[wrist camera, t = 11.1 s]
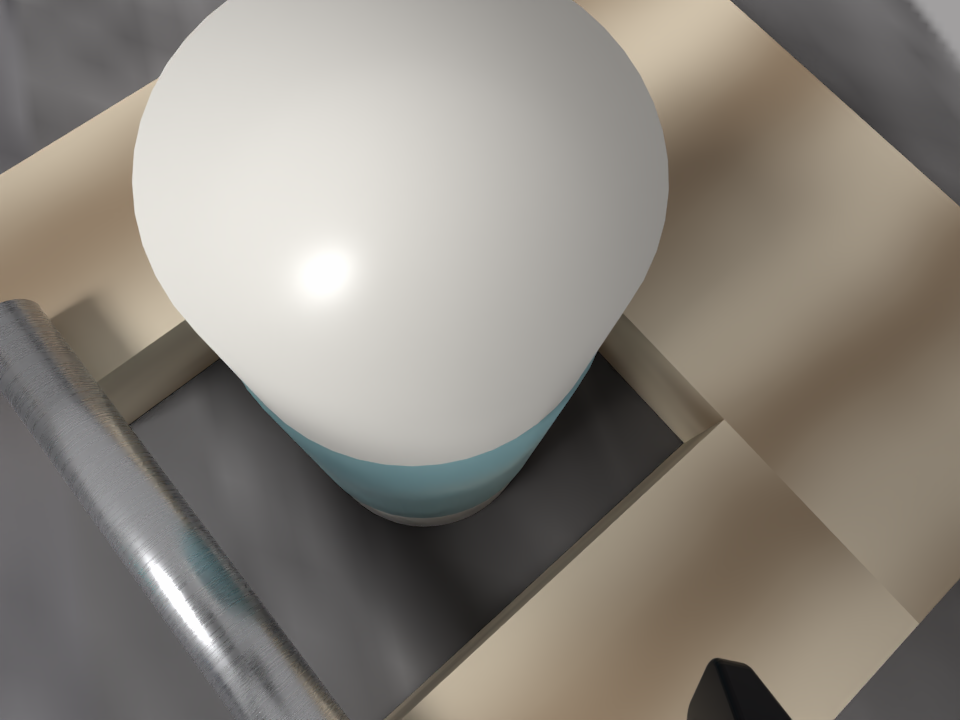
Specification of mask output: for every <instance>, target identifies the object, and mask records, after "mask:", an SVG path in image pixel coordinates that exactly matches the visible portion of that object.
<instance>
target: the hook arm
mask: <svg viewBox="0 0 960 720" xmlns="http://www.w3.org/2000/svg"><path fill="white" fill-rule="evenodd" d="M0 391H1V392H2V394H3V395H4V396H5V398H6V399H7V401H8V402H9V403H10V405H11V406H12V408H13V409H14V410H15V412H16V413H17V415H18V416H19V417H20V419H21V420H22V422H23V423H24V424H25V426H26V427H27V429H28V430H29V431H30V433H31V434H32V436H33V437H34V438H35V440H36V441H37V443H38V444H39V445H40V447H41V448H42V450H43V451H44V452H45V454H46V455H47V457H48V458H49V459H50V461H51V462H52V464H53V465H54V466H55V468H56V469H57V471H58V472H59V473H60V475H61V476H62V478H63V479H64V480H65V482H66V483H67V485H68V486H69V487H70V489H71V490H72V492H73V493H74V494H75V496H76V497H77V499H78V500H79V501H80V503H81V504H82V506H83V507H84V508H85V510H86V511H87V513H88V514H89V515H90V517H91V518H92V520H93V521H94V522H95V524H96V525H97V527H98V528H99V529H100V531H101V532H102V534H103V535H104V536H105V538H106V539H107V541H108V542H109V543H110V545H111V546H112V548H113V549H114V550H115V552H116V553H117V555H118V556H119V557H120V559H121V560H122V562H123V563H124V564H125V566H126V567H127V569H128V570H129V571H130V573H131V574H132V576H133V577H134V578H135V580H136V581H137V583H138V584H139V585H140V587H141V588H142V590H143V591H144V592H145V594H146V595H147V597H148V598H149V599H150V601H151V602H152V604H153V605H154V606H155V608H156V609H157V611H158V612H159V613H160V615H161V616H162V618H163V619H164V620H165V622H166V623H167V625H168V626H169V627H170V629H171V630H172V632H173V633H174V634H175V636H176V637H177V639H178V640H179V641H180V643H181V644H182V646H183V647H184V648H185V650H186V651H187V653H188V654H189V655H190V657H191V658H192V660H193V661H194V662H195V664H196V665H197V667H198V668H199V669H200V671H201V672H202V674H203V675H204V676H205V678H206V679H207V681H208V682H209V683H210V685H211V686H212V688H213V689H214V690H215V692H216V693H217V695H218V696H219V697H220V699H221V700H222V702H223V703H224V704H225V706H226V707H227V709H228V710H229V711H230V713H231V714H232V716H233V717H234V718H235V720H350V719H349V718H348V717H347V715H346V714H345V713H344V711H343V710H342V709H341V707H340V706H339V705H338V703H337V702H336V701H335V699H334V698H333V697H332V695H331V694H330V693H329V691H328V690H327V689H326V687H325V686H324V685H323V683H322V682H321V681H320V679H319V678H318V677H317V675H316V674H315V673H314V671H313V670H312V669H311V667H310V666H309V665H308V663H307V662H306V661H305V659H304V658H303V657H302V655H301V654H300V653H299V651H298V650H297V649H296V647H295V646H294V645H293V643H292V642H291V641H290V639H289V638H288V637H287V635H286V634H285V633H284V631H283V630H282V629H281V627H280V626H279V625H278V623H277V622H276V621H275V619H274V618H273V617H272V615H271V614H270V613H269V611H268V610H267V609H266V607H265V606H264V605H263V603H262V602H261V601H260V599H259V598H258V597H257V595H256V594H255V593H254V591H253V590H252V589H251V587H250V586H249V585H248V583H247V582H246V581H245V579H244V578H243V577H242V575H241V574H240V573H239V571H238V570H237V569H236V567H235V566H234V565H233V563H232V562H231V561H230V559H229V558H228V557H227V555H226V554H225V553H224V551H223V550H222V549H221V547H220V546H219V545H218V543H217V542H216V541H215V539H214V538H213V537H212V535H211V534H210V533H209V531H208V530H207V529H206V527H205V526H204V525H203V523H202V522H201V521H200V519H199V518H198V517H197V515H196V514H195V513H194V511H193V510H192V509H191V507H190V506H189V505H188V503H187V502H186V501H185V499H184V498H183V497H182V495H181V494H180V493H179V491H178V490H177V489H176V487H175V486H174V485H173V483H172V482H171V481H170V479H169V478H168V477H167V475H166V474H165V473H164V471H163V470H162V469H161V467H160V466H159V465H158V463H157V462H156V461H155V459H154V458H153V457H152V455H151V454H150V453H149V451H148V450H147V449H146V447H145V446H144V445H143V443H142V442H141V441H140V439H139V438H138V437H137V435H136V434H135V433H134V431H133V430H132V429H131V427H130V426H129V425H128V423H127V422H126V421H125V419H124V418H123V417H122V415H121V414H120V413H119V411H118V410H117V409H116V407H115V406H114V405H113V403H112V402H111V401H110V399H109V398H108V397H107V395H106V394H105V393H104V391H103V390H102V389H101V387H100V386H99V385H98V383H97V382H96V381H95V379H94V378H93V377H92V375H91V374H90V373H89V371H88V370H87V369H86V367H85V366H84V365H83V363H82V362H81V361H80V359H79V358H78V357H77V355H76V354H75V353H74V351H73V350H72V349H71V347H70V346H69V345H68V343H67V342H66V341H65V339H64V338H63V337H62V335H61V334H60V333H59V331H58V330H57V329H56V327H55V326H54V325H53V323H52V322H51V321H50V319H49V318H48V317H47V315H46V314H45V313H44V311H43V310H42V309H41V307H40V306H39V305H38V304H37V303H36V302H34V301H32V300H28V299H13V300H8V301H4V302H1V303H0Z"/></svg>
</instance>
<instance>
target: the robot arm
mask: <svg viewBox="0 0 960 720" xmlns="http://www.w3.org/2000/svg"><path fill="white" fill-rule="evenodd" d="M687 720H792V719H791V717H790V716H789V715H788V714H787V712H786V711H785V710H784V708H783V707H782V706H781V705H780V703H779V702H778V701H777V700H776V698H775V697H774V696H773V694H772V693H771V692H770V691H769V689H768V688H767V687H766V686H765V684H764V683H763V682H762V680H761V679H760V678H759V677H758V675H757V674H756V673H755V672H754V670H753V669H752V668H751V667H749V666H748V665H747V664H745V663H741V662H736V661H732V660H727V659H722V658H713V659H712V660H711V661H709V663H708V664H707V666H706V668H705V670H704V673H703V675H702V677H701V679H700V681H699V684H698V686H697V688H696V690H695V692H694V694H693V697H692V699H691V701H690V704H689V707H688V712H687Z"/></svg>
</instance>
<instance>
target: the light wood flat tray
mask: <svg viewBox="0 0 960 720" xmlns="http://www.w3.org/2000/svg"><path fill="white" fill-rule="evenodd" d="M572 1H574V2H575V3H577V4H578V5H579V6H581V7H582V8H583V9H584V10H586V11H587V12H588V13H589V14H590V15H591V16H592V17H593V18H594V19H595V20H596V21H598V22H599V23H600V24H601V25H602V26H603V27H604V28H605V29H606V30H607V31H608V32H609V34H610V35H611V36H612V37H613V38H614V39H615V41H616V42H617V43H618V44H619V45H620V46H621V48H622V49H623V50H624V51H625V53H626V54H627V56H628V57H629V59H630V60H631V62H632V63H633V65H634V66H635V68H636V69H637V71H638V72H639V74H640V75H641V77H642V79H643V81H644V84H645V86H646V88H647V90H648V92H649V94H650V96H651V98H652V100H653V102H654V105H655V108H656V111H657V114H658V117H659V120H660V124H661V127H662V130H663V135H664V140H665V146H666V152H667V158H668V181H669V193H668V201H667V209H666V217H665V223H664V226H663V230H662V234H661V237H660V241H659V245H658V248H657V252H656V254H655V256H654V258H653V261H652V263H651V265H650V267H649V270H648V272H647V274H646V276H645V279H644V281H643V282H642V284H641V285H640V287H639V289H638V290H637V292H636V293H635V295H634V296H633V298H632V300H631V301H630V303H629V304H628V306H627V308H626V309H625V311H624V312H623V314H622V315H621V317H620V318H619V320H618V321H617V322H616V324H615V325H614V327H613V328H612V330H611V331H610V333H609V334H608V336H607V337H606V339H605V340H604V342H603V343H602V345H601V346H600V348H599V349H598V351H599V353H600V354H601V355H602V356H603V357H604V358H605V359H606V360H607V361H608V362H609V363H610V364H611V365H612V366H613V368H614V369H615V370H616V371H617V372H618V373H619V374H620V375H621V376H622V377H623V378H624V379H625V380H626V381H627V383H628V384H629V385H630V386H631V387H632V388H633V389H634V390H635V391H636V392H637V393H638V394H639V395H640V397H641V398H642V399H643V400H644V401H645V402H646V403H647V404H648V405H649V406H650V407H651V408H652V409H653V410H654V412H655V413H656V414H657V415H658V416H659V417H660V418H661V419H662V420H663V421H664V422H665V423H666V424H667V425H668V427H669V428H670V429H671V430H672V431H673V432H674V433H675V434H676V435H677V436H678V437H679V438H680V439H681V440H682V442H683V444H682V445H681V446H680V447H679V448H678V449H677V450H676V451H675V452H674V453H673V454H671V455H670V456H669V457H668V458H667V459H666V460H665V461H664V462H663V463H662V464H661V465H660V466H658V467H657V468H656V469H655V470H654V471H653V472H652V473H651V474H650V475H649V476H648V477H647V478H645V479H644V480H643V481H642V482H641V483H640V484H639V485H638V486H637V487H636V488H635V489H634V490H632V491H631V492H630V493H629V494H628V495H627V496H626V497H625V498H624V499H623V500H622V501H621V502H619V503H618V504H617V505H616V506H615V507H614V508H613V509H612V510H611V511H610V512H609V513H607V514H606V515H605V516H604V517H603V518H602V519H601V520H600V521H599V522H598V523H597V524H596V525H594V526H593V527H592V528H591V529H590V530H589V531H588V532H587V533H586V534H585V535H584V536H583V537H581V538H580V539H579V540H578V541H577V542H576V543H575V544H574V545H573V546H572V547H571V548H570V549H568V550H567V551H566V552H565V553H564V554H563V555H562V556H561V557H560V558H559V559H558V560H557V561H555V562H554V563H553V564H552V565H551V566H550V567H549V568H548V569H547V570H546V571H545V572H544V573H542V574H541V575H540V576H539V577H538V578H537V579H536V580H535V581H534V582H533V583H532V584H531V585H529V586H528V587H527V588H526V589H525V590H524V591H523V592H522V593H521V594H520V595H519V596H517V597H516V598H515V599H514V600H513V601H512V602H511V603H510V604H509V605H508V606H507V607H506V608H504V609H503V610H502V611H501V612H500V613H499V614H498V615H497V616H496V617H495V618H494V619H493V620H491V621H490V622H489V623H488V624H487V625H486V626H485V627H484V628H483V629H482V630H481V631H480V632H478V633H477V634H476V635H475V636H474V637H473V638H472V639H471V640H470V641H469V642H468V643H467V644H465V645H464V646H463V647H462V648H461V649H460V650H459V651H458V652H457V653H456V654H455V655H454V656H452V657H451V658H450V659H449V660H448V661H447V662H446V663H445V664H444V665H443V666H442V667H440V668H439V669H438V670H437V671H436V672H435V673H434V674H433V675H432V676H431V677H430V678H429V679H427V680H426V681H425V682H424V683H423V684H422V685H421V686H420V687H419V688H418V689H417V690H416V691H414V692H413V693H412V694H411V695H410V696H409V697H408V698H407V699H406V700H405V701H404V702H403V703H401V704H400V705H399V706H398V707H397V708H396V709H395V710H394V711H393V712H392V713H391V714H390V715H388V716H387V717H386V718H385V719H384V720H687V712H688V707H689V704H690V701H691V699H692V697H693V694H694V692H695V690H696V688H697V686H698V684H699V681H700V679H701V677H702V675H703V673H704V670H705V668H706V666H707V664H708V663H709V661H711V660H712V659H713V658H722V659H727V660H732V661H736V662H741V663H745V664H747V665H748V666H749V667H751V668H752V669H753V670H754V672H755V673H756V674H757V675H758V677H759V678H760V679H761V680H762V682H763V683H764V684H765V686H766V687H767V688H768V689H769V691H770V692H771V693H772V694H773V696H774V697H775V698H776V700H777V701H778V702H779V703H780V705H781V706H782V707H783V708H784V710H785V711H786V712H787V714H788V715H789V716H790V717H791V719H792V720H834V719H835V718H836V717H837V715H838V714H839V713H840V712H841V711H842V710H843V709H844V708H845V706H846V705H847V704H848V703H849V702H850V701H851V700H852V699H853V697H854V696H855V695H856V694H857V693H858V692H859V691H860V690H861V689H862V687H863V686H864V685H865V684H866V683H867V682H868V681H869V680H870V678H871V677H872V676H873V675H874V674H875V673H876V672H877V671H878V669H879V668H880V667H881V666H882V665H883V664H884V663H885V662H886V660H887V659H888V658H889V657H890V656H891V655H892V654H893V653H894V651H895V650H896V649H897V648H898V647H899V646H900V645H901V644H902V642H903V641H904V640H905V639H906V638H907V637H908V636H909V635H910V633H911V632H912V631H913V630H914V629H915V628H916V627H917V626H918V625H919V623H920V622H921V621H922V620H923V619H924V618H925V617H926V616H927V614H928V613H929V612H930V611H931V610H932V609H933V608H934V607H935V605H936V604H937V603H938V602H939V601H940V600H941V599H942V598H943V596H944V595H945V594H946V593H947V592H948V591H949V590H950V589H951V587H952V586H953V585H954V584H955V583H956V582H957V581H958V580H959V578H960V206H959V205H957V204H956V203H955V202H954V201H953V200H952V199H951V198H950V197H948V196H947V195H946V194H945V193H944V192H943V191H942V190H941V189H940V188H938V187H937V186H936V185H935V184H934V183H933V182H932V181H931V180H930V179H928V178H927V177H926V176H925V175H924V174H923V173H922V172H921V171H920V170H918V169H917V168H916V167H915V166H914V165H913V164H912V163H911V162H910V161H908V160H907V159H906V158H905V157H904V156H903V155H902V154H901V153H899V152H898V151H897V150H896V149H895V148H894V147H893V146H892V145H891V144H889V143H888V142H887V141H886V140H885V139H884V138H883V137H882V136H881V135H879V134H878V133H877V132H876V131H875V130H874V129H873V128H872V127H871V126H869V125H868V124H867V123H866V122H865V121H864V120H863V119H862V118H860V117H859V116H858V115H857V114H856V113H855V112H854V111H853V110H852V109H850V108H849V107H848V106H847V105H846V104H845V103H844V102H843V101H842V100H840V99H839V98H838V97H837V96H836V95H835V94H834V93H833V92H832V91H830V90H829V89H828V88H827V87H826V86H825V85H824V84H823V83H822V82H820V81H819V80H818V79H817V78H816V77H815V76H814V75H813V74H811V73H810V72H809V71H808V70H807V69H806V68H805V67H804V66H803V65H801V64H800V63H799V62H798V61H797V60H796V59H795V58H794V57H793V56H791V55H790V54H789V53H788V52H787V51H786V50H785V49H784V48H783V47H781V46H780V45H779V44H778V43H777V42H776V41H775V40H774V39H772V38H771V37H770V36H769V35H768V34H767V33H766V32H765V31H764V30H762V29H761V28H760V27H759V26H758V25H757V24H756V23H755V22H754V21H752V20H751V19H750V18H749V17H748V16H747V15H746V14H745V13H744V12H742V11H741V10H740V9H739V8H738V7H737V6H736V5H735V4H734V3H732V2H731V1H730V0H572ZM158 79H159V78H158ZM158 79H156V80H154V81H153V82H151V83H149V84H148V85H146V86H144V87H143V88H141V89H140V90H138V91H136V92H135V93H133V94H131V95H130V96H128V97H127V98H125V99H123V100H122V101H120V102H118V103H117V104H115V105H113V106H112V107H110V108H109V109H107V110H105V111H104V112H102V113H100V114H99V115H97V116H95V117H94V118H92V119H91V120H89V121H87V122H86V123H84V124H82V125H81V126H79V127H78V128H76V129H74V130H73V131H71V132H69V133H68V134H66V135H64V136H63V137H61V138H60V139H58V140H56V141H55V142H53V143H51V144H50V145H48V146H46V147H45V148H43V149H42V150H40V151H38V152H37V153H35V154H33V155H32V156H30V157H29V158H27V159H25V160H24V161H22V162H20V163H19V164H17V165H15V166H14V167H12V168H11V169H9V170H7V171H6V172H4V173H2V174H1V175H0V303H1V302H4V301H8V300H13V299H28V300H32V301H34V302H36V303H37V304H38V305H39V306H40V307H41V309H42V310H43V311H44V313H45V314H46V315H47V317H48V318H49V319H50V321H51V322H52V323H53V325H54V326H55V327H56V329H57V330H58V331H59V333H60V334H61V335H62V337H63V338H64V339H65V341H66V342H67V343H68V345H69V346H70V347H71V349H72V350H73V351H74V353H75V354H76V355H77V357H78V358H79V359H80V361H81V362H82V363H83V365H84V366H85V367H86V369H87V370H88V371H89V373H90V374H91V375H92V377H93V378H94V379H95V381H96V382H97V383H98V385H99V386H100V387H101V389H102V390H103V391H104V393H105V394H106V395H107V397H108V398H109V399H110V401H111V402H112V403H113V405H114V406H115V407H116V409H117V410H118V411H119V413H120V414H121V415H122V417H123V418H124V419H125V421H126V422H127V423H128V425H129V424H130V423H132V422H133V421H135V420H136V419H137V418H139V417H140V416H141V415H143V414H144V413H145V412H147V411H148V410H150V409H151V408H152V407H154V406H155V405H156V404H158V403H159V402H161V401H162V400H163V399H165V398H166V397H167V396H169V395H170V394H171V393H173V392H174V391H176V390H177V389H178V388H180V387H181V386H182V385H184V384H185V383H187V382H188V381H189V380H191V379H192V378H193V377H195V376H196V375H197V374H199V373H200V372H202V371H203V370H204V369H206V368H207V367H208V366H210V365H211V364H213V363H214V362H215V361H217V360H218V359H219V358H220V357H219V356H218V355H217V354H216V353H215V352H214V351H213V350H212V349H211V347H210V346H209V345H208V344H207V343H206V342H205V341H204V340H203V339H202V338H201V337H200V336H199V335H198V334H197V333H196V332H195V330H194V329H193V328H192V327H191V326H190V324H189V323H188V322H187V321H186V320H185V318H184V317H183V316H182V315H181V314H180V313H179V311H178V310H177V309H176V308H175V307H174V305H173V304H172V302H171V301H170V299H169V297H168V296H167V294H166V292H165V291H164V289H163V287H162V286H161V284H160V283H159V281H158V279H157V278H156V276H155V274H154V271H153V269H152V267H151V264H150V262H149V259H148V257H147V255H146V252H145V250H144V247H143V245H142V241H141V237H140V233H139V229H138V225H137V221H136V217H135V211H134V199H133V188H132V173H133V158H134V148H135V144H136V139H137V135H138V130H139V126H140V121H141V118H142V115H143V113H144V110H145V107H146V105H147V102H148V100H149V97H150V94H151V92H152V90H153V88H154V86H155V84H156V82H157V81H158Z"/></svg>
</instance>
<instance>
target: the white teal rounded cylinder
mask: <svg viewBox="0 0 960 720" xmlns="http://www.w3.org/2000/svg"><path fill="white" fill-rule="evenodd" d="M132 188H133V199H134V211H135V217H136V221H137V225H138V229H139V233H140V237H141V241H142V245H143V247H144V250H145V252H146V255H147V257H148V259H149V262H150V264H151V267H152V269H153V271H154V274H155V276H156V278H157V279H158V281H159V283H160V284H161V286H162V287H163V289H164V291H165V292H166V294H167V296H168V297H169V299H170V301H171V302H172V304H173V305H174V307H175V308H176V309H177V310H178V311H179V313H180V314H181V315H182V316H183V317H184V318H185V320H186V321H187V322H188V323H189V324H190V326H191V327H192V328H193V329H194V330H195V332H196V333H197V334H198V335H199V336H200V337H201V338H202V339H203V340H204V341H205V342H206V343H207V344H208V345H209V346H210V347H211V349H212V350H213V351H214V352H215V353H216V354H217V355H218V356H219V357H220V358H221V359H222V360H223V361H224V362H225V363H226V364H227V365H228V366H229V368H230V369H231V370H232V371H233V372H234V373H235V374H236V375H237V376H238V377H239V378H240V379H241V380H242V382H243V384H244V385H245V387H246V389H247V390H248V391H249V392H250V393H251V395H252V396H253V397H254V398H255V399H256V401H257V402H258V403H259V404H260V405H261V407H262V408H263V409H264V410H265V411H266V412H267V413H268V414H269V415H270V416H271V417H272V418H273V419H274V420H275V421H276V422H277V423H278V424H279V425H280V426H281V427H282V428H283V429H284V430H285V431H286V432H287V434H288V435H289V436H290V437H291V438H292V439H293V440H294V441H295V442H296V443H297V444H298V445H299V446H300V447H301V448H302V449H303V450H304V451H305V452H306V453H307V454H308V455H309V456H310V457H311V458H312V459H313V460H314V461H315V462H316V463H317V464H318V465H319V466H320V467H321V468H322V469H323V470H324V471H325V472H326V473H327V474H328V475H329V476H330V477H331V478H332V479H333V481H334V482H336V483H337V484H338V485H339V486H340V487H341V488H342V489H343V490H344V491H346V492H347V493H348V494H350V495H351V496H352V497H353V498H354V499H355V500H356V501H358V502H359V503H360V504H361V505H362V506H364V507H365V508H367V509H368V510H369V511H371V512H372V513H374V514H376V515H378V516H380V517H382V518H384V519H387V520H390V521H393V522H396V523H399V524H404V525H410V526H422V527H428V526H440V525H445V524H450V523H454V522H457V521H459V520H462V519H465V518H467V517H469V516H471V515H473V514H475V513H477V512H479V511H480V510H482V509H483V508H484V507H486V506H487V505H489V504H490V503H491V502H492V501H493V500H494V499H495V498H497V497H498V496H499V495H500V494H501V492H502V491H503V490H504V489H505V488H506V486H507V485H508V484H509V482H510V481H511V480H512V479H513V478H514V477H515V476H516V474H517V473H518V472H519V471H520V470H521V468H522V467H523V466H524V464H525V463H526V461H527V460H528V458H529V457H530V455H531V454H532V453H533V451H534V450H535V448H536V447H537V445H538V444H539V442H540V441H541V440H542V438H543V437H544V435H545V434H546V432H547V431H548V429H549V428H550V427H551V425H552V424H553V422H554V421H555V419H556V418H557V416H558V415H559V414H560V412H561V411H562V409H563V408H564V406H565V405H566V403H567V402H568V400H569V399H570V398H571V396H572V395H573V393H574V392H575V390H576V389H577V387H578V386H579V384H580V383H581V381H582V379H583V378H584V376H585V375H586V373H587V371H588V370H589V368H590V366H591V364H592V362H593V360H594V357H595V355H596V353H597V351H598V349H599V348H600V346H601V345H602V343H603V342H604V340H605V339H606V337H607V336H608V334H609V333H610V331H611V330H612V328H613V327H614V325H615V324H616V322H617V321H618V320H619V318H620V317H621V315H622V314H623V312H624V311H625V309H626V308H627V306H628V304H629V303H630V301H631V300H632V298H633V296H634V295H635V293H636V292H637V290H638V289H639V287H640V285H641V284H642V282H643V281H644V279H645V276H646V274H647V272H648V270H649V267H650V265H651V263H652V261H653V258H654V256H655V254H656V252H657V248H658V245H659V241H660V237H661V234H662V230H663V226H664V223H665V217H666V209H667V201H668V193H669V181H668V158H667V152H666V146H665V140H664V135H663V130H662V127H661V124H660V120H659V117H658V114H657V111H656V108H655V105H654V102H653V100H652V98H651V96H650V94H649V92H648V90H647V88H646V86H645V84H644V81H643V79H642V77H641V75H640V74H639V72H638V71H637V69H636V68H635V66H634V65H633V63H632V62H631V60H630V59H629V57H628V56H627V54H626V53H625V51H624V50H623V49H622V48H621V46H620V45H619V44H618V43H617V42H616V41H615V39H614V38H613V37H612V36H611V35H610V34H609V32H608V31H607V30H606V29H605V28H604V27H603V26H602V25H601V24H600V23H599V22H598V21H596V20H595V19H594V18H593V17H592V16H591V15H590V14H589V13H588V12H587V11H586V10H584V9H583V8H582V7H581V6H579V5H578V4H577V3H575V2H574V1H572V0H227V1H226V2H225V3H224V4H222V5H221V6H220V7H219V8H217V9H216V10H215V11H214V12H212V13H211V14H210V15H209V16H207V17H206V18H205V19H204V20H203V21H202V22H201V23H200V24H199V26H198V27H197V28H196V29H195V30H194V31H193V32H192V33H191V34H190V35H189V36H188V37H187V38H186V39H185V40H184V42H183V43H182V44H181V46H180V47H179V48H178V50H177V51H176V52H175V54H174V55H173V56H172V58H171V59H170V60H169V62H168V63H167V64H166V66H165V68H164V70H163V72H162V73H161V75H160V77H159V79H158V81H157V82H156V84H155V86H154V88H153V90H152V92H151V94H150V97H149V100H148V102H147V105H146V107H145V110H144V113H143V115H142V118H141V121H140V126H139V130H138V135H137V139H136V144H135V148H134V158H133V173H132Z"/></svg>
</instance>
